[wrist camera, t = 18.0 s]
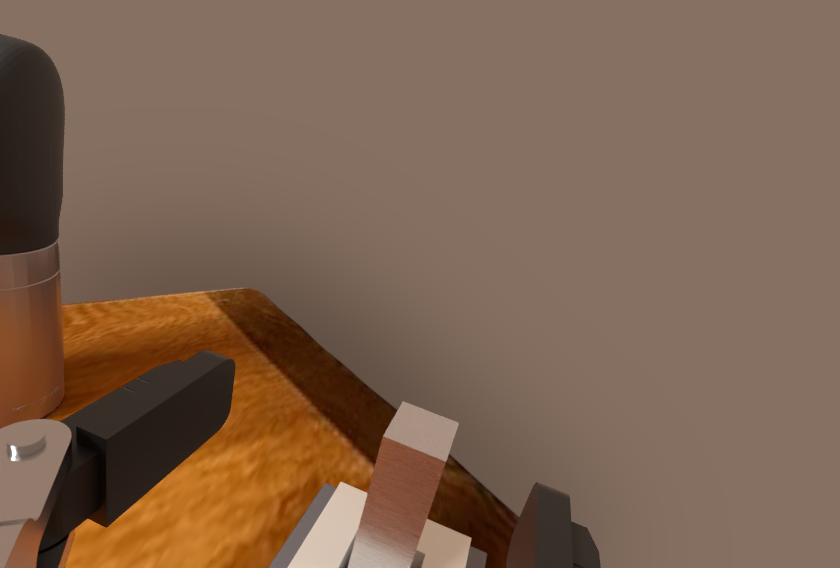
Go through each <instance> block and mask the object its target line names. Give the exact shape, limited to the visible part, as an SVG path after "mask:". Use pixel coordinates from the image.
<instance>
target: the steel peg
mask: <svg viewBox="0 0 840 568" xmlns="http://www.w3.org/2000/svg"><path fill="white" fill-rule="evenodd" d="M458 424H459V423H458V422H455V421H453V420H450V419H448V418H445V417H442V416H440V415H437V414H435V413H432V412H429V411H427V410H424V409H422V408H419V407H417V406H414V405H411V404H409V403H406V402H404V401H403V402H402V404H401V406H400V408H399V409H398V411H397V413H396V415H395V416H394V418H393V420H392V422H391V423H390V425H389V427H388V428H387V430H386V432H385V434H384V435H383V438H382V442H381V446H380V449H379V453H378V457H377V461H376V464H375V468H374V472H373V475H372V479H371V483H370V487H369V490H368V494H367V498H366V501H365V505H364V509H363V512H362V516H361V520H360V524H359V527H358V531H357V535H356V538H355V542H354V546H353V550H352V553H351V557H350V561H349V564H348V568H410V567H411V564H412V561H413V558H414V555H415V552H416V549H417V546H418V543H419V540H420V537H421V534H422V531H423V528H424V525H425V522H426V520H427V517H428V514H429V511H430V508H431V505H432V502H433V499H434V496H435V493H436V490H437V487H438V484H439V481H440V478H441V475H442V472H443V469H444V467H445V464H446V461H447V458H448V455H449V452H450V449H451V445H452V442H453V439H454V436H455V433H456V430H457V427H458Z"/></svg>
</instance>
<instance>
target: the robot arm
mask: <svg viewBox="0 0 840 568" xmlns="http://www.w3.org/2000/svg"><path fill="white" fill-rule="evenodd" d="M64 107H65V106H64V96H63V88H62V84H61V80H60V76H59V74H58V72H57V69H56V67H55V65H54V63H53V62H52V60H51V58H50V57H49V56H48V55H47V54H46V53H45V52H44V51H43V50H42V49H40V48H39V47H37V46H36V45H34V44H32V43H29V42H27V41H24V40H20V39H17V38H13V37H10V36H6V35H2V34H0V568H65V566H66V563H67V559H68V556H69V553H70V550H71V547H72V544H73V541H74V536H75V528H76V527H77V526H79V525H80V524H81V523H82V522H84V521H85V520H86V519H87V518H88V519H90V520H92V521H94V522H96V523H98V524H100V525H102V526H104V527H106V528H107V527H108V526H109V525H110V524H111V523H112V522H114V521H115V520H116V519H117V518H118V517H119V516H121V515H122V514H123V513H124V512H125V511H126V510H127V509H129V508H130V507H131V506H132V505H133V504H134V503H136V502H137V501H138V500H139V499H140V498H141V497H143V496H144V495H145V494H146V493H147V492H148V491H149V490H151V489H152V488H153V487H154V486H155V485H156V484H158V483H159V482H160V481H161V480H162V479H163V478H164V477H166V476H167V475H168V474H169V473H170V472H171V471H173V470H174V469H175V468H176V467H177V466H178V465H180V464H181V463H182V462H183V461H184V460H185V459H186V458H188V457H189V456H190V455H191V454H192V453H193V452H195V451H196V450H197V449H198V448H199V447H200V446H202V445H203V444H204V443H205V442H206V441H207V440H208V439H210V438H211V437H212V436H213V435H214V434H215V433H217V432H218V431H219V430H220V428H221V427H222V426H223V424H224V423H225V421H226V419H227V417H228V415H229V412H230V408H231V401H232V392H233V384H234V375H235V362H234V360H232V359H230V358H227V357H225V356H222V355H220V354H217V353H215V352H212V351H210V350H203V351H201V352H199V353H198V354H196V355H194V356H192V357H191V358H189V359H187V360H186V361H184V362H182V361H180V360H179V361H175V362H171V363H168V364H164V365H161V366H157V367H155V368H153V369H152V370H150V371H148V372H146V373H145V374H143V375H141V376H139V377H138V379H137V380H136V379H134V380H132V381H130V382H129V383H127V384H125V385H123V387H122V388H121V389H120V388H118V389H116V390H115V391H113V392H111V393H109V394H108V395H106V396H104V397H102V398H100V399H99V400H97V401H95V402H93V403H92V404H90V405H88V406H86V407H85V408H83V409H81V410H79V411H78V412H76V413H74V414H72V415H70V416H69V417H67V418H65V419H63V420H62V421H60V422H59V421H55V420H49V419H40V418H42V417H44V416H45V415H47V414H49V413H50V412H52V411H53V410H54V409H55V408H56V407H57V406H59V404H60V403H61V402H62V400H63V398H64V395H65V384H64V351H63V325H62V300H61V274H60V251H59V229H58V228H59V226H58V225H59V216H60V210H61V204H62V196H63V146H64V120H65V113H64V111H65V108H64ZM506 568H600V559H599V551H598V549H597V547H596V545H595V543H594V541H593V539H592V537H591V535H590V533H589V531H588V529H587V528H586V527H583V526H581V525H578V524H576V523H574V522H571V512H570V498H569V495H568V494H565V493H563V492H560V491H558V490H555V489H553V488H550V487H548V486H545V485H543V484H540V483H538V482H536V483H535V485H534V486H533V489H532V490H531V493H530V495H529V497H528V500H527V502H526V504H525V507H524V509H523V511H522V513H521V516H520V518H519V520H518V522H517V525H516V527H515V529H514V532H513V535H512V538H511V542H510V546H509V550H508V555H507V563H506Z"/></svg>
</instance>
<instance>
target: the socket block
mask: <svg viewBox="0 0 840 568" xmlns="http://www.w3.org/2000/svg"><path fill="white" fill-rule="evenodd" d="M367 494H368V493H366V492H364V491H361V490H359V489H357V488H354V487H352V486H350V485H347V484H345V483H343V482H340V484H339V486H338V487H337V488H336V487H333V486H331V485H329V484H327V483H325V484H324V485H323V487H322V488H321V490H320V491H319V493H318V494H317V496H316V497H315V499H314V500H313V502H312V503H311V505H310V506H309V508H308V509H307V511H306V512H305V514H304V515H303V517H302V518H301V520H300V521H299V523H298V524H297V526H296V527H295V529H294V530H293V532H292V533H291V535H290V536H289V538H288V539H287V541H286V542H285V544H284V545H283V547H282V548H281V550H280V551H279V553H278V554H277V556H276V557H275V559H274V560H273V562H272V563H271V565H270V566H269V568H348V564H349V561H350V557H351V553H352V550H353V546H354V542H355V538H356V535H357V531H358V527H359V524H360V520H361V516H362V512H363V509H364V505H365V501H366V498H367ZM470 543H471V538H470V537H468V536H466V535H463V534H461V533H459V532H456V531H454V530H452V529H449V528H447V527H445V526H442V525H440V524H438V523H436V522H433V521H431V520H429V519H427V520H426V522H425V525H424V528H423V531H422V534H421V537H420V540H419V543H418V546H417V549H416V552H415V555H414V558H413V561H412V564H411V567H410V568H485V564H486V558H487V553H485V552H483V551H481V550H478V549H476V548H474V547H471V546H470Z"/></svg>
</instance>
